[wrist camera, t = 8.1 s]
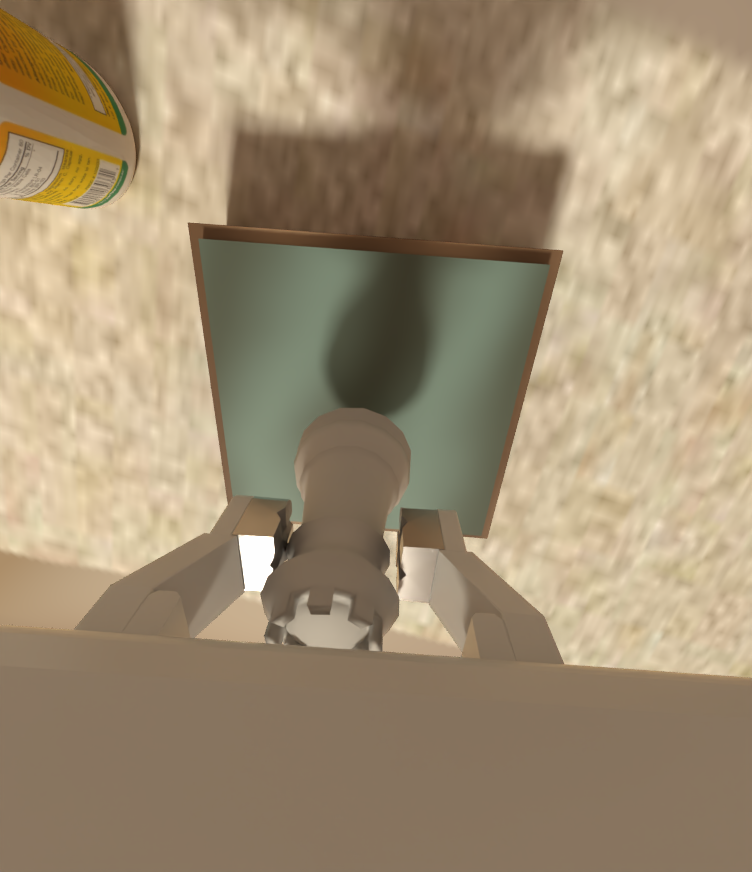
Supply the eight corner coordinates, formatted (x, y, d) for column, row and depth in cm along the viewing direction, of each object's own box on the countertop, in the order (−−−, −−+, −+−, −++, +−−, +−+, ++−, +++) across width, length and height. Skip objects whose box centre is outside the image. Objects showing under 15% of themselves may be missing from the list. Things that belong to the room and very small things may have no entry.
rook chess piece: (343, 513, 16) (308, 721, 9) (276, 439, 15) (172, 621, 8) (431, 467, 15) (468, 666, 8) (369, 379, 14) (346, 533, 6)
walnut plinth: (531, 249, 17) (567, 250, 13) (474, 498, 23) (488, 543, 20) (225, 227, 17) (182, 221, 14) (252, 481, 23) (227, 523, 20)
